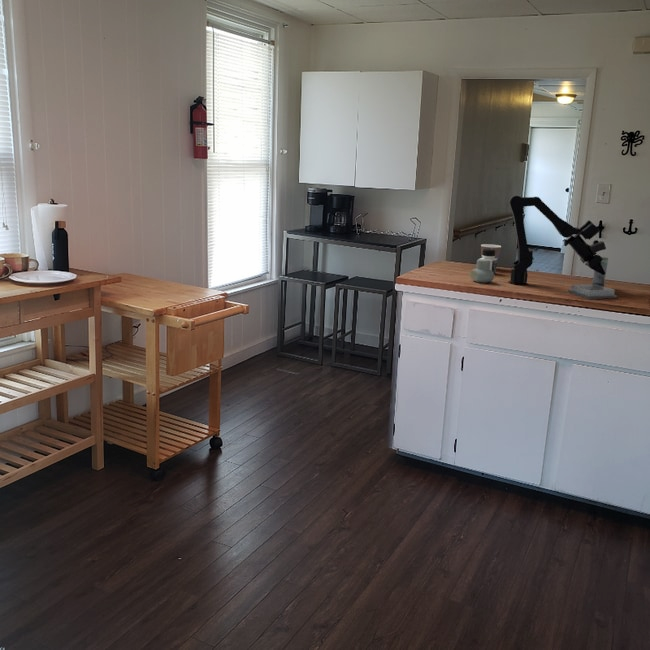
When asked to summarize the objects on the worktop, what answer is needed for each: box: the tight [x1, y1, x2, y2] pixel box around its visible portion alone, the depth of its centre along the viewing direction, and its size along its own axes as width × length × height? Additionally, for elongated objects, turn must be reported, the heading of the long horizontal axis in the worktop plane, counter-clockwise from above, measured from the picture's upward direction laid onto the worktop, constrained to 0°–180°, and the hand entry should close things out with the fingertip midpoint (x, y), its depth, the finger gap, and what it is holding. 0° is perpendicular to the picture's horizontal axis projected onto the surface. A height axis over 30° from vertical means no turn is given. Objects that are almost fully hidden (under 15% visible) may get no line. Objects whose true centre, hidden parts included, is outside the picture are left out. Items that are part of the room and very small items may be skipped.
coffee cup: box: [480, 243, 502, 264], centre depth 342 cm, size 10×10×12 cm
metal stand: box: [567, 283, 618, 300], centre depth 283 cm, size 14×14×4 cm
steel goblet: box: [592, 256, 609, 287], centre depth 297 cm, size 7×7×14 cm
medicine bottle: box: [479, 248, 498, 274], centre depth 329 cm, size 7×7×12 cm
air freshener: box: [470, 258, 496, 284], centre depth 304 cm, size 11×8×10 cm
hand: (603, 273), depth 297 cm, fingers closed on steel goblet, 5 cm apart
